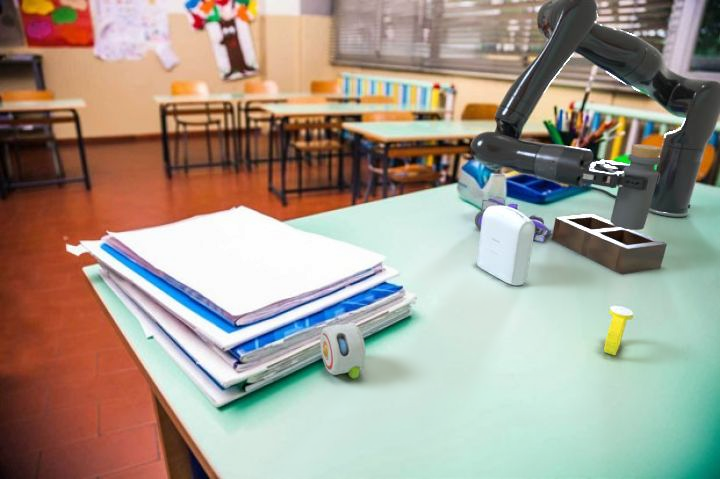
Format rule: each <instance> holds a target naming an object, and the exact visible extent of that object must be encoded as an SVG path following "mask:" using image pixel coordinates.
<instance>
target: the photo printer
mask: <svg viewBox="0 0 720 479" xmlns="http://www.w3.org/2000/svg"><path fill="white" fill-rule="evenodd" d="M534 232H535V226H534V223H533V222H532V221H531V220H530V219H529V217H528V216H527V215H526V214H525V213H524V212H522V211H520V210H518V209H517V210H516V209H514V208H511V207H508V205H506V206H502V205H497V206H490V207H488V208H487V209H486V210H485V211H484V214H483V217H482V224H481V230H480V234H479V242H478V248H477V258H476V265H477V266H478V268H480V269H482V270H483V271H485V272H486V273H489V274H490V275H492V276H494V277H495V278H497V279H499V280H501V281H502V282H505V283H506V284H508V285H512V286H521V285H524V284H525V282H526V281H527V280H528V274H529V268H530V262H531V257H532V250H533V243H534V238H535V236H534Z"/></svg>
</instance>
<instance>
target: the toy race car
mask: <svg viewBox="0 0 720 479" xmlns="http://www.w3.org/2000/svg"><path fill="white" fill-rule="evenodd" d="M497 205H502V206H508V207H511V208H514V209H516V210H518V204H517V203H513V202H512V203H509V204H507V205H506V199H505V198H504V197H500V196H495V195H489V196H488V199H487V200H486V199H482V203H481V210H480V211H479V212H477V214H476V215H475V217H474V224H475V227H476V228H477V229H478V230H479V231H481V224H482V217H483V214H484V211H485V210H486V209H487V208H488V207H490V206H497ZM528 218H529V219H530V220H531V221H532V222H533V223H534V226H535V232H534V238H533V241H536V242H541V243H544V241H545V238H546V236H547V235H550V234H551V233H552V229H550V228H548V227H547V226H546V225H545V220H544V218H543V217H542V216H541V215H539V214H532V215H530V216H529V217H528ZM540 231H541V233H540V235H539V234H537V233H538V232H540Z"/></svg>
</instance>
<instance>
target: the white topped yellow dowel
mask: <svg viewBox="0 0 720 479" xmlns="http://www.w3.org/2000/svg"><path fill="white" fill-rule="evenodd" d="M608 310H609V311H608V314H609V315H610V316H612V318H611V322H610V324H609V328H608V330H607V334H606V338H605V342H604V347H603V352H604V353H606V354H609V355H612V356H616V354H617V352H618V350H619V348H620V345H621V342H622V339H623V335H624V332H625V328H626V324H627V321H630V320H632V319H633V317H634V312H633V311H632V310H631V309H629V308H627V307H624V306H621V305H612V306H609V309H608Z"/></svg>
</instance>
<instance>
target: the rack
mask: <svg viewBox="0 0 720 479" xmlns="http://www.w3.org/2000/svg"><path fill="white" fill-rule="evenodd" d="M551 240H552V241H553V242H555V243H558V244H560V245H562V246H564V247H566V248H568V249H570V250H571V251H574V252H576V253H578V254H579V255H582V256H584V257H585V258H587V259H590V260H592V261H594V262H596V263H597V264H600V265H602V266H604V267H606V268H608V269H610V270H611V271H614V272H616V273H619V274H620V275H624V274H631V273H637V272H645V271H650V270H657V269H661V267H662V264H663V261H664V258H665V253H666V250H667V246H668V243H666V242H664V241H662V240H659V239H656V238H654V237H651V236H649V235H646V234H643V233H641V232H638V231H637V230H630V229H624V228H620V227H617V226H615V225H613V224H611V220H608V219H605V218H603V217H600V216H597V215H595V214H593V213H590V214H589V213H588V214H580V215H579V214H578V215H569V216H557V217H555V219H554V224H553V230H552V235H551Z"/></svg>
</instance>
